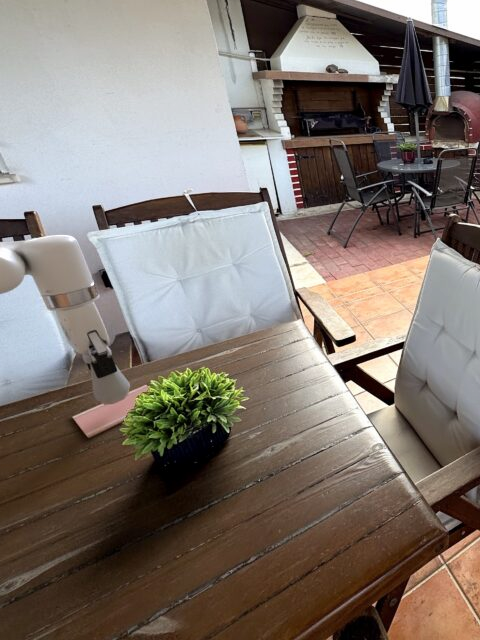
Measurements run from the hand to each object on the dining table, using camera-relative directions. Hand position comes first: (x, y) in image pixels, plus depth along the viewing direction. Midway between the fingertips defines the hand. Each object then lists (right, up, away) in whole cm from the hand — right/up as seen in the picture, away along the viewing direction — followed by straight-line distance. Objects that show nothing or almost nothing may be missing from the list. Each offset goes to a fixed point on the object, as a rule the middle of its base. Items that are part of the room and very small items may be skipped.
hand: (103, 370), depth 87 cm
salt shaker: (0, -7, +3) cm, 8 cm away
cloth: (0, -10, +4) cm, 11 cm away
